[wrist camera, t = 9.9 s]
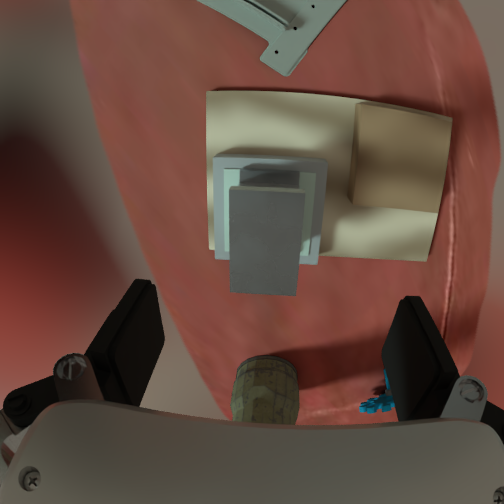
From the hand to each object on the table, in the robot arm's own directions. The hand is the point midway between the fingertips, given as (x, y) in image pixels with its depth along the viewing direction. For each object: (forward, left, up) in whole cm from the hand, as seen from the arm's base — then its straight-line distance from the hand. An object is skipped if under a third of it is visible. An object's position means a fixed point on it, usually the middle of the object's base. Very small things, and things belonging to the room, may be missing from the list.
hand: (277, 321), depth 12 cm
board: (-1, +5, -21) cm, 22 cm away
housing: (+2, -1, -18) cm, 18 cm away
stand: (-4, +11, -20) cm, 23 cm away
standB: (+2, -1, -20) cm, 20 cm away
